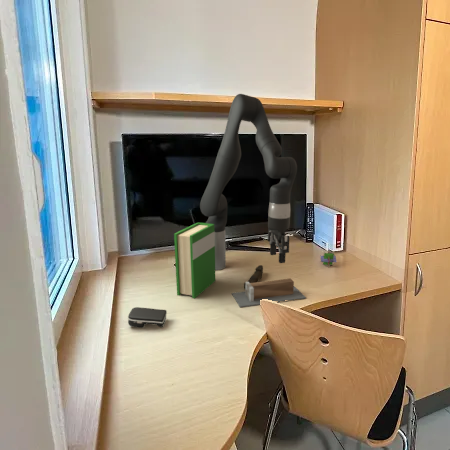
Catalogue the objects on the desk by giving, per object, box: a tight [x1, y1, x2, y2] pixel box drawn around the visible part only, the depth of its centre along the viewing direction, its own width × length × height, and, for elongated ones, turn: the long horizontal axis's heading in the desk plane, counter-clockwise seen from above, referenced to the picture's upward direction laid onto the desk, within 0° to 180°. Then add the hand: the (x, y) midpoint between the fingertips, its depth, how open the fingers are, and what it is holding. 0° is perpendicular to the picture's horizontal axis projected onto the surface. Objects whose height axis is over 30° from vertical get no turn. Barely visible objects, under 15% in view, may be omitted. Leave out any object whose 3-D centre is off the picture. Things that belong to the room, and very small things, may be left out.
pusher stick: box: [244, 278, 295, 302], centre depth 134 cm, size 6×17×5 cm, turn 104°
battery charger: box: [127, 306, 168, 329], centre depth 116 cm, size 7×4×11 cm
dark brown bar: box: [243, 264, 264, 290], centre depth 147 cm, size 19×4×5 cm, turn 157°
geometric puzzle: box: [319, 250, 337, 268], centre depth 163 cm, size 7×7×8 cm
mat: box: [231, 285, 307, 308], centre depth 134 cm, size 11×25×1 cm, turn 104°
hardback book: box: [173, 222, 216, 299], centre depth 140 cm, size 18×7×24 cm, turn 155°
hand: (277, 258), depth 131 cm, fingers open, 8 cm apart
